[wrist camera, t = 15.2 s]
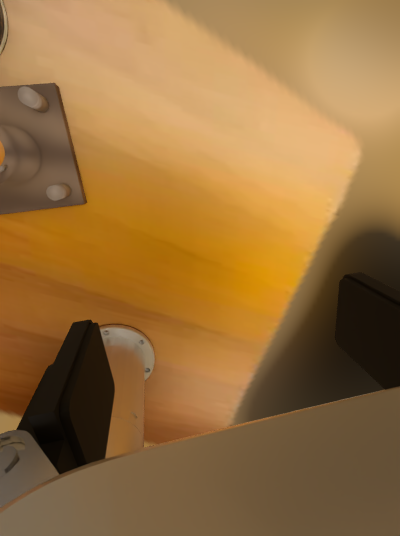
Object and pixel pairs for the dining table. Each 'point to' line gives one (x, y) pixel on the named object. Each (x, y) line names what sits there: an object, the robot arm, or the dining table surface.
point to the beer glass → (17, 155)
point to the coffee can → (3, 26)
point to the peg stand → (41, 150)
